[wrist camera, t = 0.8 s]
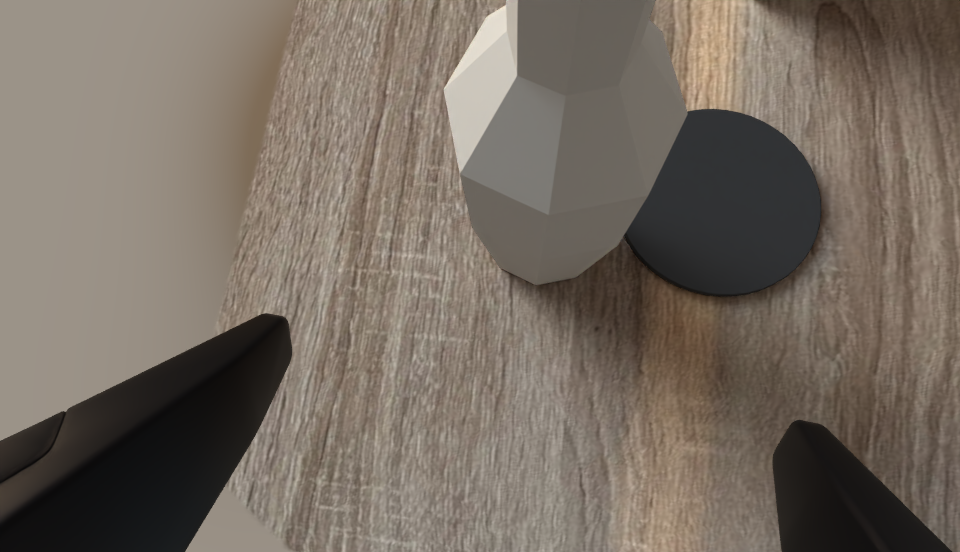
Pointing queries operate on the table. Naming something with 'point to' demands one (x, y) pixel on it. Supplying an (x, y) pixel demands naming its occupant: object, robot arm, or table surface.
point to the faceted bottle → (561, 129)
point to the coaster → (728, 207)
